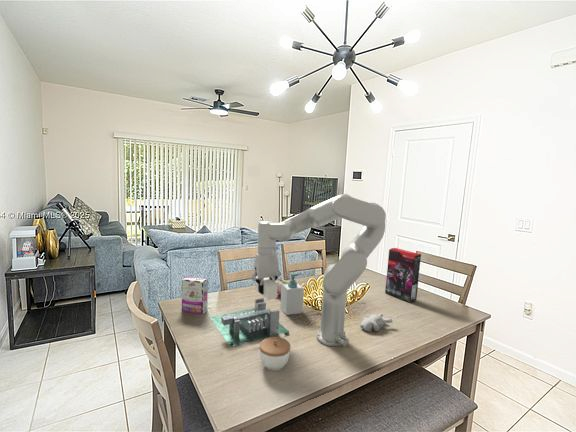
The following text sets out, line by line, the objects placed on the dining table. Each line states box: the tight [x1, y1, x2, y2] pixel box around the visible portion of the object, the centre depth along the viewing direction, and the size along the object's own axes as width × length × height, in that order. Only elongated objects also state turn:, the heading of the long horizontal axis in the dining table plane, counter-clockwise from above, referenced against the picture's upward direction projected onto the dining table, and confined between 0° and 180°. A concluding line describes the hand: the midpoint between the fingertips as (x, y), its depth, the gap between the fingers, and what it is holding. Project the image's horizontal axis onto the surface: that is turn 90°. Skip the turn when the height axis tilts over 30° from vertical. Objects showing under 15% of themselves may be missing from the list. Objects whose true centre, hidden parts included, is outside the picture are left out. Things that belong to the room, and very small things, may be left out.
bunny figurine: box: [359, 313, 393, 333], centre depth 138 cm, size 10×5×15 cm
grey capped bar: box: [221, 308, 272, 326], centre depth 126 cm, size 4×22×2 cm, turn 121°
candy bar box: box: [181, 276, 209, 315], centre depth 143 cm, size 11×5×16 cm, turn 76°
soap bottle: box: [279, 272, 305, 316], centre depth 150 cm, size 9×9×19 cm
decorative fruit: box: [275, 277, 289, 296], centre depth 169 cm, size 9×8×10 cm
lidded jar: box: [259, 336, 291, 372], centre depth 106 cm, size 11×11×9 cm
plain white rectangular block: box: [254, 276, 278, 301], centre depth 129 cm, size 12×4×6 cm, turn 32°
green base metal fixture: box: [209, 297, 290, 348], centre depth 132 cm, size 27×26×11 cm
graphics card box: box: [384, 247, 422, 303], centre depth 174 cm, size 17×7×27 cm, turn 37°
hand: (266, 291), depth 129 cm, fingers closed on plain white rectangular block, 4 cm apart
